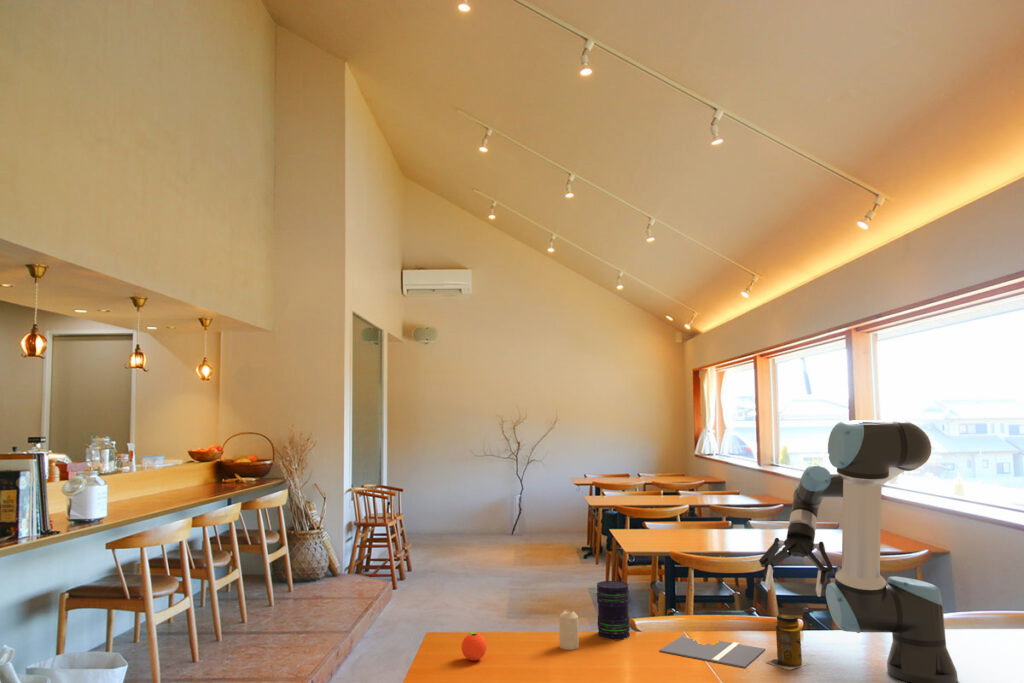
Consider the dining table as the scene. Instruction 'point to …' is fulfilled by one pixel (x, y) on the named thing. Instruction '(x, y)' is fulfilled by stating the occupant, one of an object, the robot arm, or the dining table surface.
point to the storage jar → (613, 610)
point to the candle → (568, 630)
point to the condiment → (788, 643)
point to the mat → (714, 651)
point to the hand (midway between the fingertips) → (792, 590)
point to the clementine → (474, 646)
